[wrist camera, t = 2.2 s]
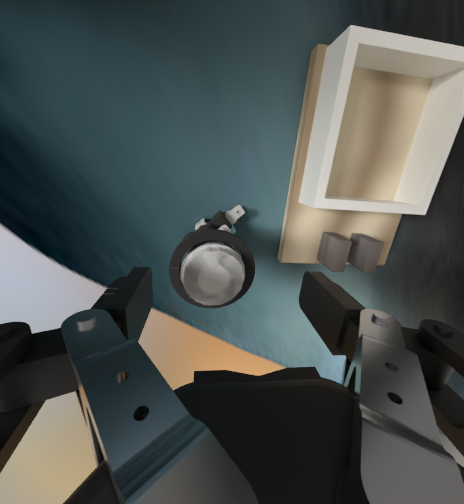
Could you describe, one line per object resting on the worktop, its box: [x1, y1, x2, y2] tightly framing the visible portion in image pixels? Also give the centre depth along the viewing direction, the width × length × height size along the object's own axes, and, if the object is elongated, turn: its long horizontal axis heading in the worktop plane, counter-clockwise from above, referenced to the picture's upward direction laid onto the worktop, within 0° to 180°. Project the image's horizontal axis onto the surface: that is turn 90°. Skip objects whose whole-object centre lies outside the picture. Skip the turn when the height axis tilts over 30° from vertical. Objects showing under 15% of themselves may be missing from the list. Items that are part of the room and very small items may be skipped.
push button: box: [169, 205, 255, 308], centre depth 17 cm, size 7×5×10 cm
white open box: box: [299, 25, 464, 215], centre depth 18 cm, size 11×12×3 cm
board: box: [278, 43, 433, 272], centre depth 20 cm, size 12×18×4 cm, turn 176°
